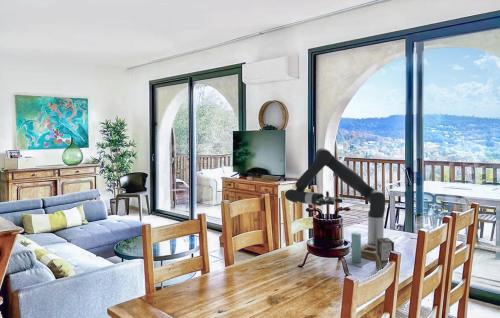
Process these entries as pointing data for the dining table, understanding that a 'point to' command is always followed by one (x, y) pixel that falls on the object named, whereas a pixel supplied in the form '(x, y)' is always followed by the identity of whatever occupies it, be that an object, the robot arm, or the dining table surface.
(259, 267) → the dining table surface
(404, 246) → the dining table surface
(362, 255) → the walnut holder
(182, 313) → the dining table surface
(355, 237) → the teal peg
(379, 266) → the coffee box
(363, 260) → the slate mat
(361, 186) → the robot arm
